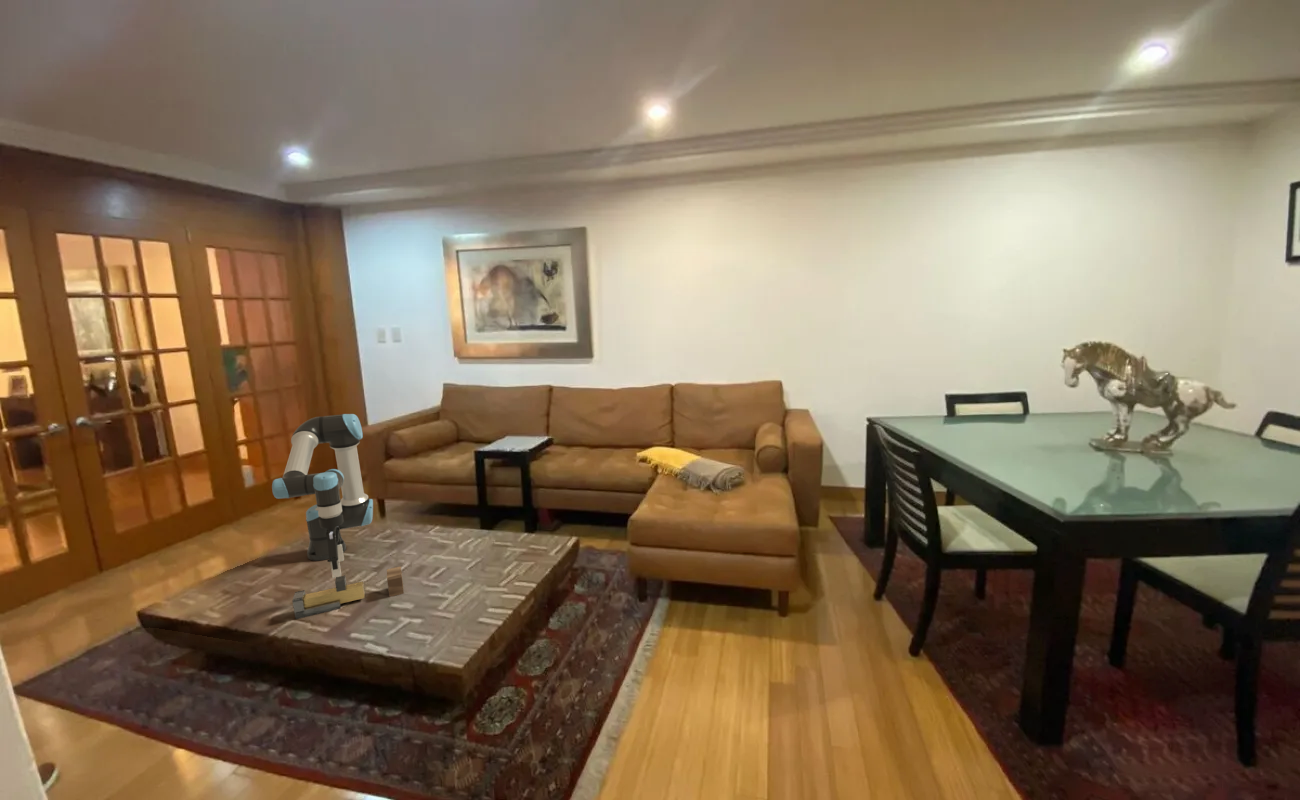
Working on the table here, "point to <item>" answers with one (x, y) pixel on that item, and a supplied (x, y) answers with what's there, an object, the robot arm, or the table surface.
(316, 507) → the robot arm
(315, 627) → the table surface
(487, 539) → the table surface
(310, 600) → the tan wooden bar
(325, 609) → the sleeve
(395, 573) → the socket
